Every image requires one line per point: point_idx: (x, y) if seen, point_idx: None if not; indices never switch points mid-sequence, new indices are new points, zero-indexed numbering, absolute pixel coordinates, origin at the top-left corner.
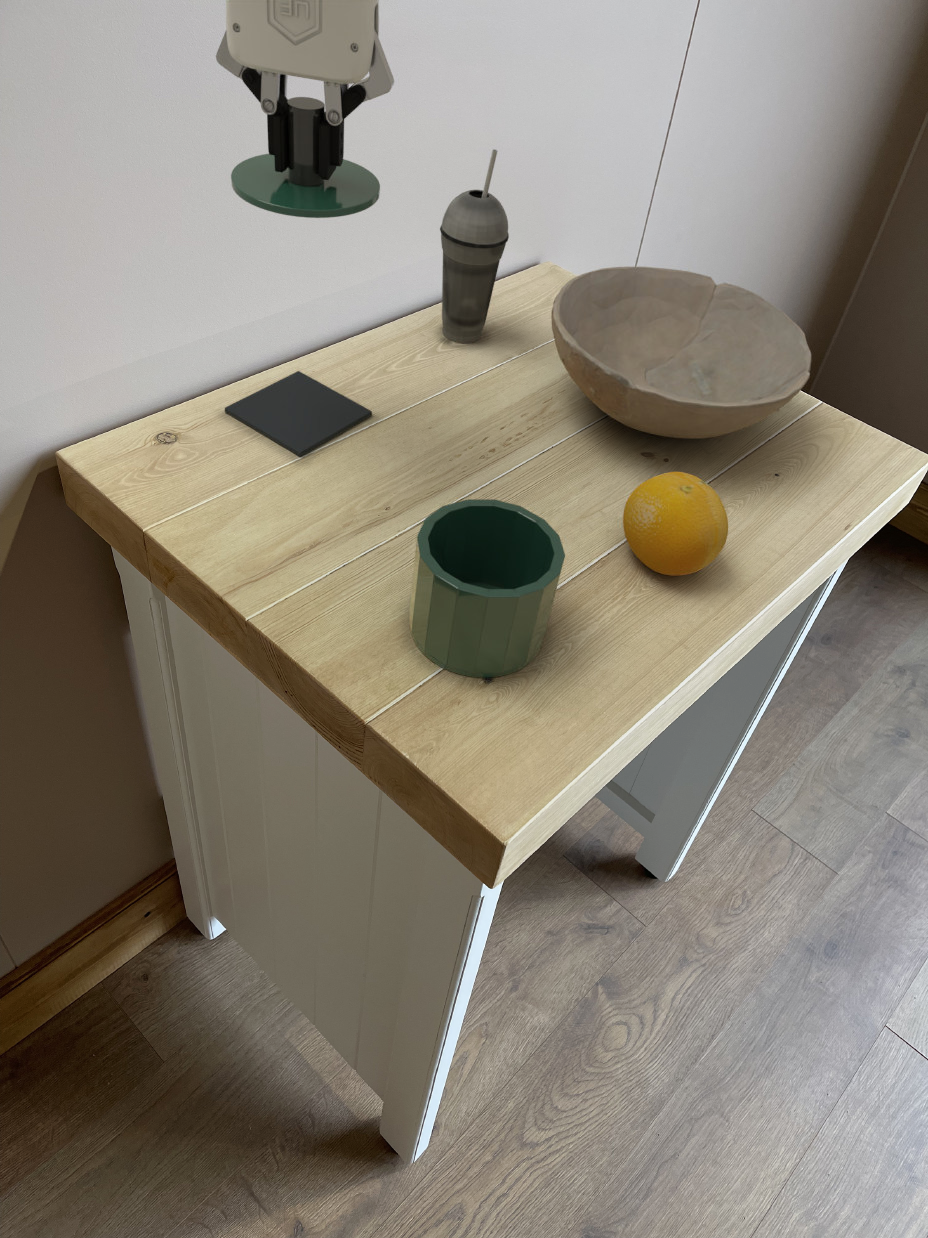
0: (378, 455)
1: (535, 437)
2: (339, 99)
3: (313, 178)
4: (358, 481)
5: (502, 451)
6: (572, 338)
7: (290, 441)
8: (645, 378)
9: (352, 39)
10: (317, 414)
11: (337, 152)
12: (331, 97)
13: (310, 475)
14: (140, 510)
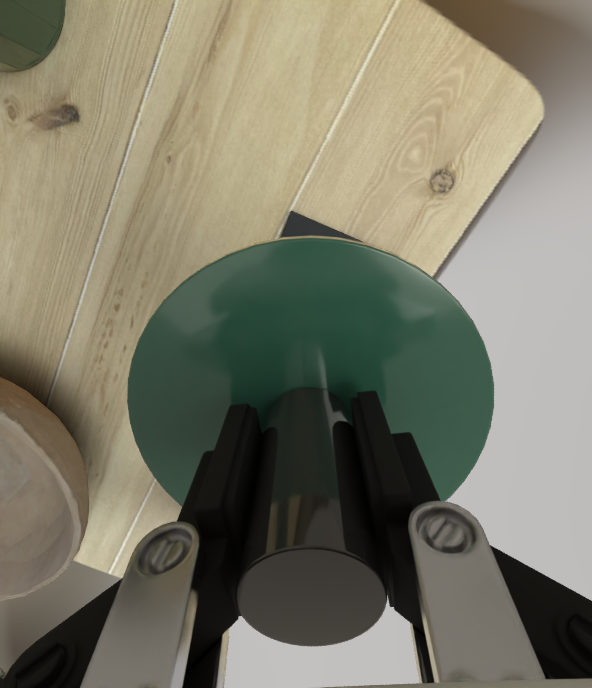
0: (217, 250)
1: (89, 346)
2: (112, 625)
3: (275, 407)
4: (217, 194)
5: (107, 310)
6: (7, 426)
7: (309, 227)
8: (28, 468)
9: None
10: None
11: (200, 470)
12: (146, 624)
13: (268, 182)
14: (422, 24)
